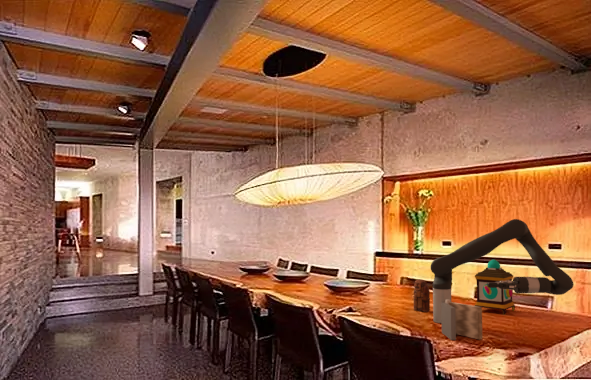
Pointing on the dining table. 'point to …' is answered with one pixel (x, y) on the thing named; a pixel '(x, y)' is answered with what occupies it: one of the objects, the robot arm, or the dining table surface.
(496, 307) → the decorative lantern
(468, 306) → the ash plank
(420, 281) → the wooden figurine
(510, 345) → the dining table surface
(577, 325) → the dining table surface
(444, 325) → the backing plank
